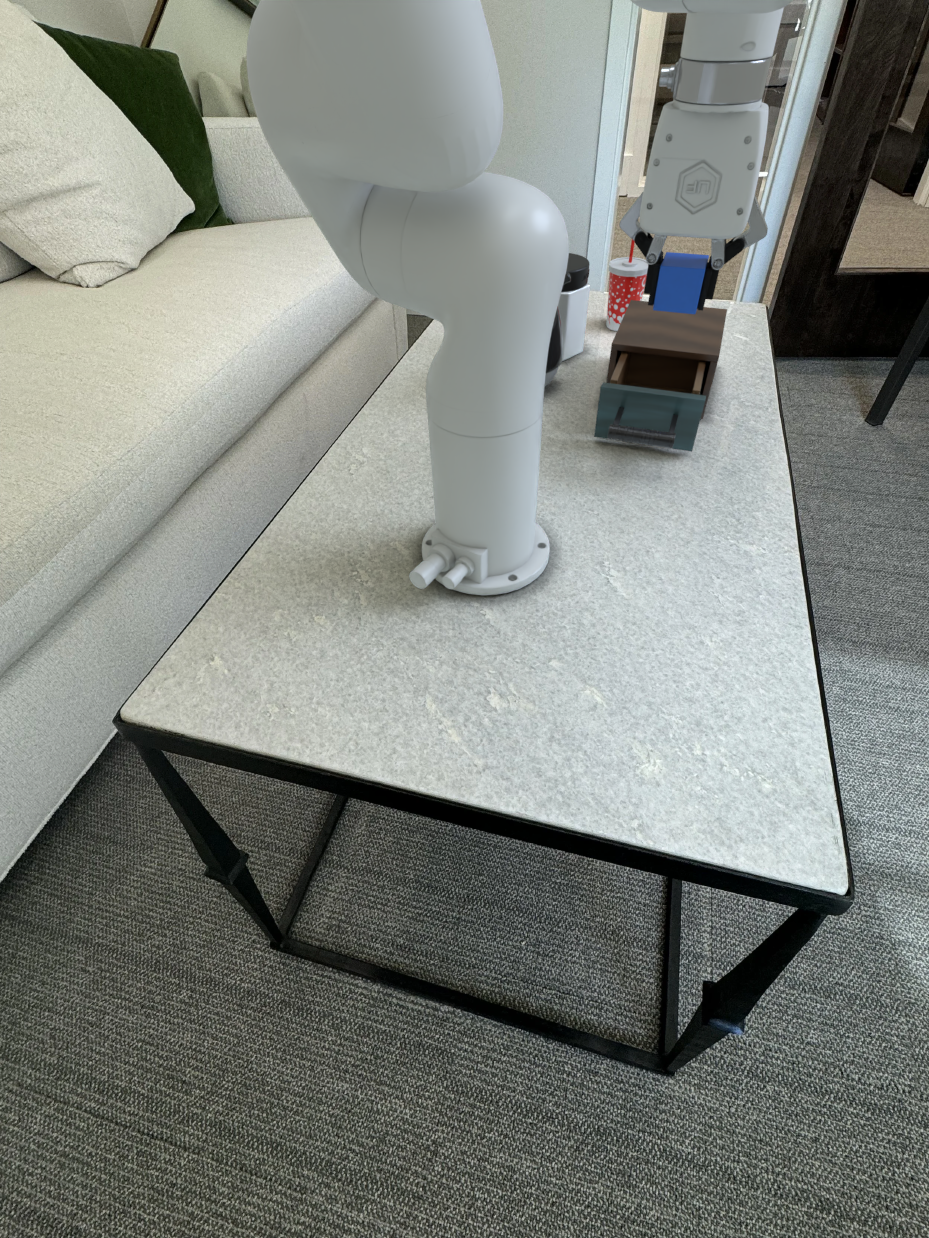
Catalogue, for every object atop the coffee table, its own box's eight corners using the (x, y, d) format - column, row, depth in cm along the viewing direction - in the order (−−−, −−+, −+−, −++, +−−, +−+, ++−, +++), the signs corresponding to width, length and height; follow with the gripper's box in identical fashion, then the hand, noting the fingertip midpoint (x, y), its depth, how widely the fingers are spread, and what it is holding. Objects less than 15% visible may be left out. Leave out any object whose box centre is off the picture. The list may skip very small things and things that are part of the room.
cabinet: (702, 419, 81) (719, 355, 75) (603, 405, 84) (611, 343, 78) (711, 368, 90) (727, 309, 85) (622, 358, 94) (630, 299, 88)
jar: (589, 358, 94) (600, 269, 85) (536, 365, 93) (541, 275, 84) (569, 334, 100) (577, 248, 91) (519, 340, 99) (522, 254, 90)
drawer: (686, 480, 70) (700, 427, 66) (583, 463, 73) (589, 412, 69) (702, 397, 83) (714, 349, 78) (613, 386, 86) (620, 338, 81)
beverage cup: (627, 337, 98) (643, 234, 88) (593, 327, 101) (605, 227, 91) (647, 324, 102) (665, 223, 92) (614, 315, 104) (627, 216, 94)
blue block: (695, 314, 67) (705, 269, 64) (652, 310, 69) (660, 265, 65) (699, 299, 70) (709, 255, 67) (658, 295, 71) (666, 251, 68)
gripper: (615, 90, 56) (591, 309, 69) (825, 93, 51) (757, 325, 65) (629, 77, 61) (605, 284, 74) (823, 79, 56) (760, 298, 70)
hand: (677, 301), depth 69 cm, fingers closed on blue block, 4 cm apart
